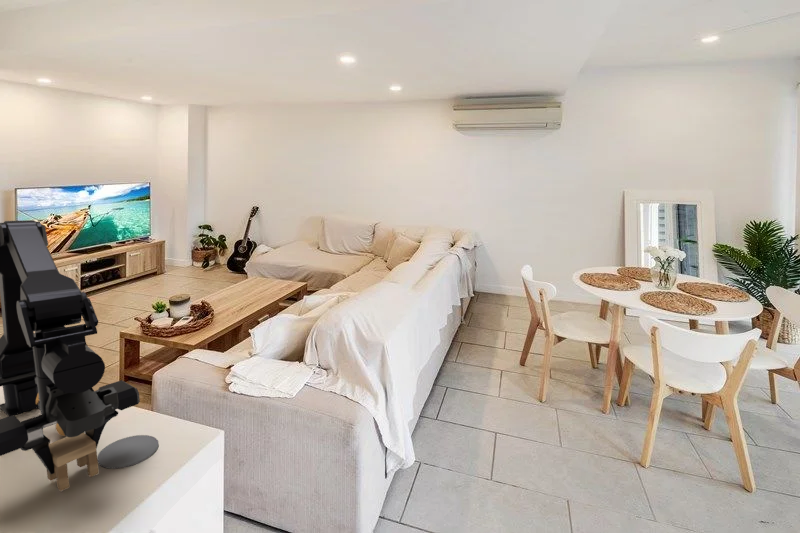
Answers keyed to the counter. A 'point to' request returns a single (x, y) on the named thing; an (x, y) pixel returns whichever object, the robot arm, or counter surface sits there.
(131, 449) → the charcoal mat
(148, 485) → the counter surface
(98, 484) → the counter surface
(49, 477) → the oak stool
